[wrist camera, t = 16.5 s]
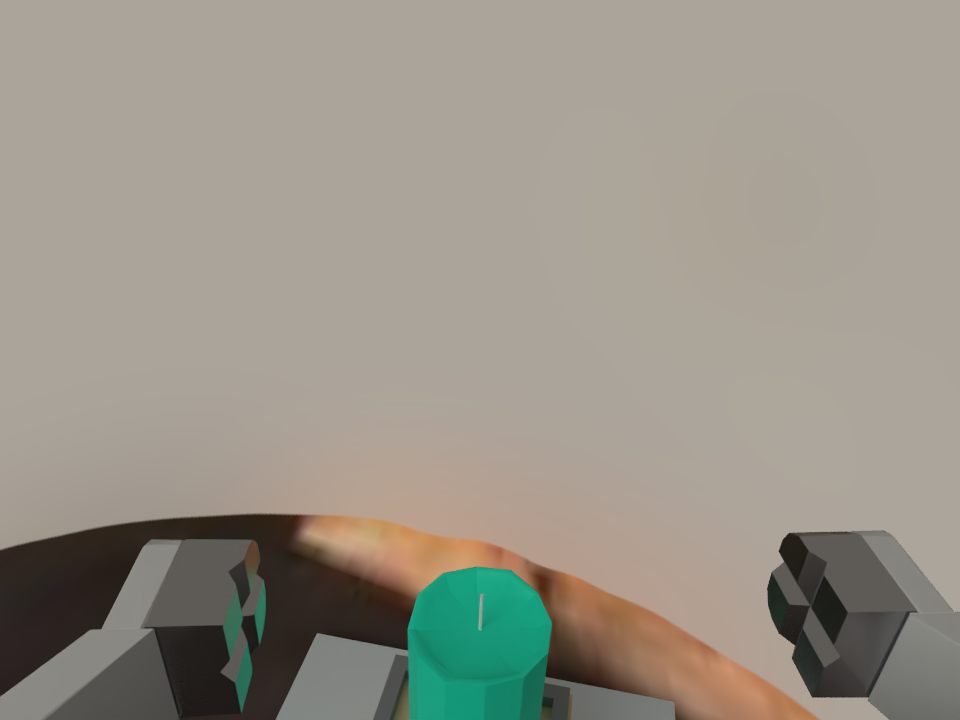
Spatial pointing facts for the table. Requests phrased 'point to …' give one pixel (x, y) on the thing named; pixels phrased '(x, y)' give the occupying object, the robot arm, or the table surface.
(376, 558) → the table surface
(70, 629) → the table surface
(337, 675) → the board
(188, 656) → the robot arm
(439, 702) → the candle
